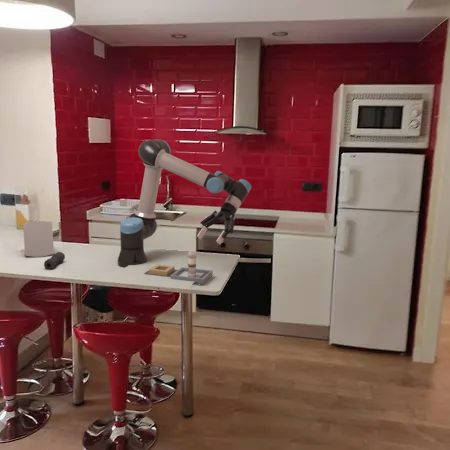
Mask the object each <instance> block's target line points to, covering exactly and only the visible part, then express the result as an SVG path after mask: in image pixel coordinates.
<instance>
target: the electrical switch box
mask: <svg viewBox="0 0 450 450" xmlns="http://www.w3.org/2000/svg"><path fill="white" fill-rule="evenodd" d="M22 228H23V242H24V243H23V245H24V255H25V256H26V257H34V258H35V257H36V258H41V257H46V256H51V255H54V254H55V252H54V251H55V250H54V230H53V222H52V221H45V220H34V221H33V220H32V221H29V222H24V223H23V226H22Z"/></svg>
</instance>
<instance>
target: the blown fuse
mask: <svg viewBox="0 0 450 450" xmlns="http://www.w3.org/2000/svg"><path fill="white" fill-rule="evenodd" d="M187 259H188V260H187V261H188V263H187V268H188V272H187V277H193V278H197V273H196V269H197V252H196V251H187Z"/></svg>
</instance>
